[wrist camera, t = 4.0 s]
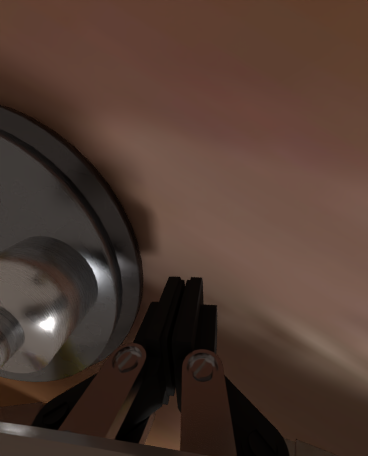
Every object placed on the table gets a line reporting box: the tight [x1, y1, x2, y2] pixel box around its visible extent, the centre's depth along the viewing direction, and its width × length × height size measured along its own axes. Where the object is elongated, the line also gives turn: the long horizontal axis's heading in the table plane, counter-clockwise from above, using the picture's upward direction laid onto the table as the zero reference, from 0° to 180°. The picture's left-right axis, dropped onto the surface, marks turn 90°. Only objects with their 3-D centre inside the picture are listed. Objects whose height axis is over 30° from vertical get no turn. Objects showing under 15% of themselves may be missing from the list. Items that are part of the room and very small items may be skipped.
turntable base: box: [0, 105, 143, 367], centre depth 17 cm, size 22×22×1 cm
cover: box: [0, 236, 98, 373], centre depth 12 cm, size 6×6×6 cm
